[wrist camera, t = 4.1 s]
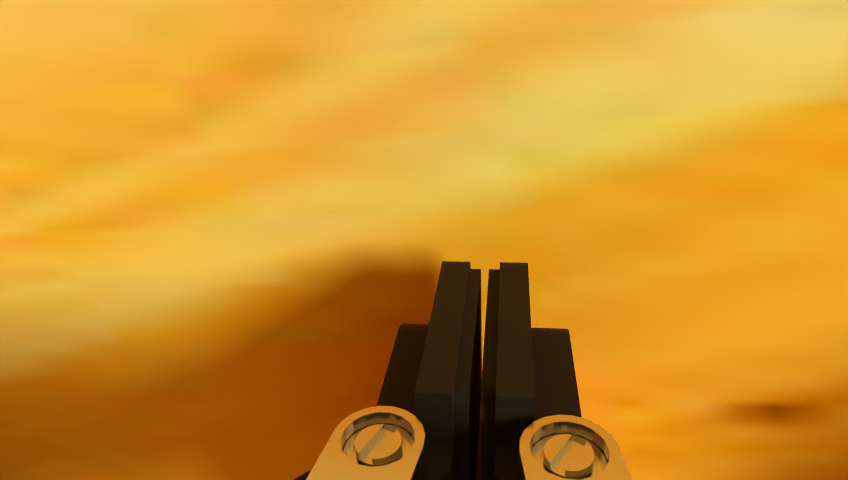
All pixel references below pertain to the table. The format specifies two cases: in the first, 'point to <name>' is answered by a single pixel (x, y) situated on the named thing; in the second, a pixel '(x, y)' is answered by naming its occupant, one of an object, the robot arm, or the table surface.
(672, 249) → the table surface
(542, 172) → the table surface
